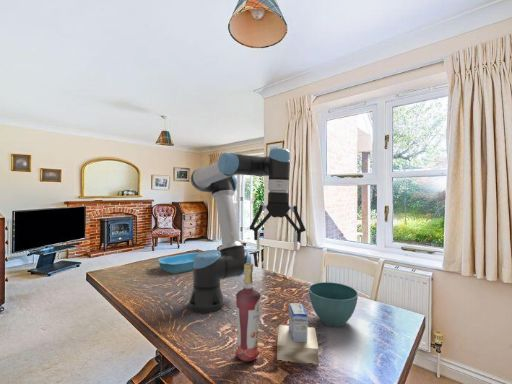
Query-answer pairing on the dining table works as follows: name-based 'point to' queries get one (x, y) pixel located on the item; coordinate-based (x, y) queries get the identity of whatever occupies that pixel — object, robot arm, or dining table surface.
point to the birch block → (297, 347)
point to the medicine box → (298, 322)
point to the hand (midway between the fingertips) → (276, 249)
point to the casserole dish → (177, 263)
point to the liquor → (247, 317)
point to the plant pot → (333, 302)
